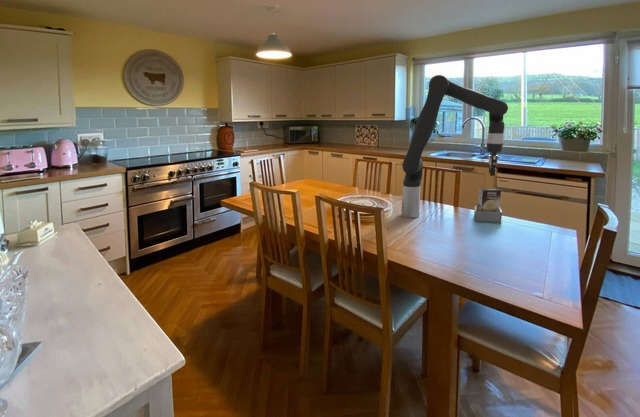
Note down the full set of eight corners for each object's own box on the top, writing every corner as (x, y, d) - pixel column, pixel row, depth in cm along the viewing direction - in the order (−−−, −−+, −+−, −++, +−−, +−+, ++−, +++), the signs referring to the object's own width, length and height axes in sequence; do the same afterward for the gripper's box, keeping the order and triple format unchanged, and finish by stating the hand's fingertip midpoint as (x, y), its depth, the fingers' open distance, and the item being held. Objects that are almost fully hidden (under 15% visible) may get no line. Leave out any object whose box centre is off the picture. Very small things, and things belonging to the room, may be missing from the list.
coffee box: (480, 220, 200) (482, 190, 196) (476, 216, 206) (478, 187, 202) (498, 220, 200) (501, 190, 195) (493, 216, 206) (496, 187, 202)
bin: (474, 221, 201) (475, 210, 199) (473, 216, 210) (474, 205, 208) (500, 223, 196) (502, 212, 195) (499, 218, 206) (500, 207, 204)
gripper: (504, 143, 184) (500, 177, 189) (501, 140, 197) (498, 172, 202) (487, 143, 187) (484, 176, 191) (486, 140, 200) (483, 171, 204)
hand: (491, 174), depth 197 cm, fingers open, 8 cm apart
